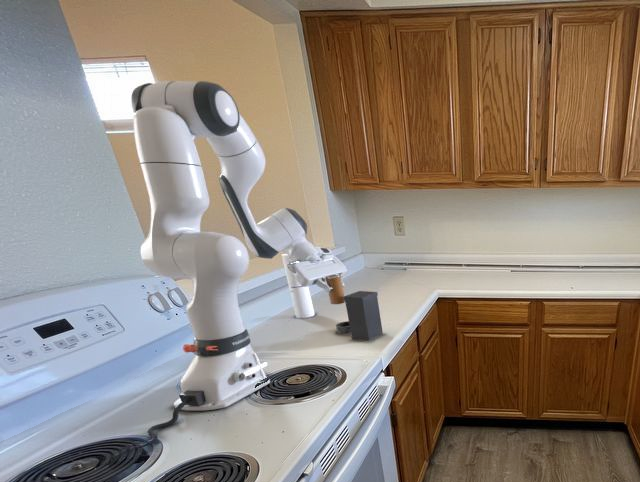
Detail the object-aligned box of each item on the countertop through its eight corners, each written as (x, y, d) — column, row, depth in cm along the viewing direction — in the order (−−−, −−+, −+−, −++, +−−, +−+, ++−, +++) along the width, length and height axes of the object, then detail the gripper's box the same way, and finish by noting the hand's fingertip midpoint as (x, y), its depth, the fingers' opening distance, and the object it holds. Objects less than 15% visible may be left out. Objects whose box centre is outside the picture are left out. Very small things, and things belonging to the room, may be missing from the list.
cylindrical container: (307, 318, 170) (293, 255, 160) (292, 317, 171) (277, 255, 161) (318, 313, 176) (305, 252, 166) (303, 313, 178) (289, 252, 168)
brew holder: (353, 335, 148) (351, 327, 146) (333, 335, 148) (332, 327, 147) (361, 328, 154) (359, 321, 153) (342, 328, 155) (340, 321, 154)
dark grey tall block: (369, 342, 140) (361, 297, 134) (351, 340, 143) (343, 296, 136) (383, 334, 147) (377, 291, 141) (366, 332, 150) (359, 290, 144)
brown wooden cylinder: (341, 304, 141) (337, 277, 137) (327, 304, 141) (321, 277, 138) (348, 300, 146) (343, 274, 142) (334, 300, 146) (329, 275, 143)
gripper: (287, 256, 130) (318, 288, 131) (332, 248, 148) (359, 276, 148) (280, 270, 133) (310, 301, 134) (324, 260, 151) (351, 288, 152)
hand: (336, 288), depth 141 cm, fingers closed on brown wooden cylinder, 5 cm apart
